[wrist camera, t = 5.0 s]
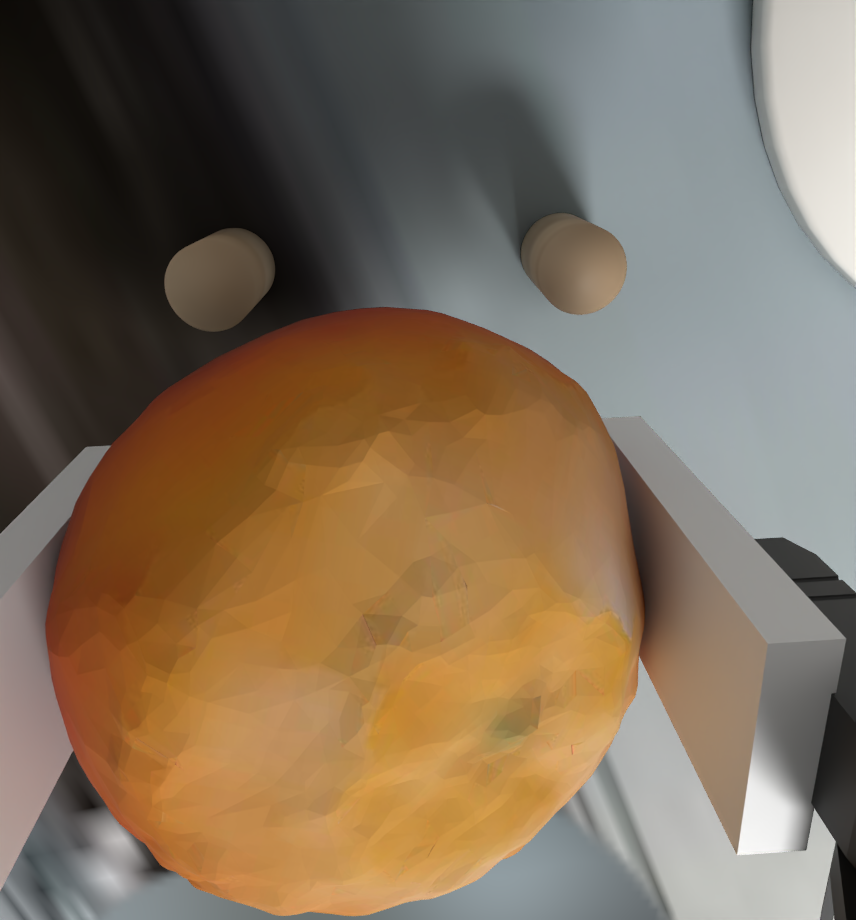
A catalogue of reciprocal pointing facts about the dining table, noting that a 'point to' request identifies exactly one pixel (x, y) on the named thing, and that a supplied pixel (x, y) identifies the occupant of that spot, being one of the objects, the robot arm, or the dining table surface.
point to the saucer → (811, 116)
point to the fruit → (349, 612)
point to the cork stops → (253, 270)
